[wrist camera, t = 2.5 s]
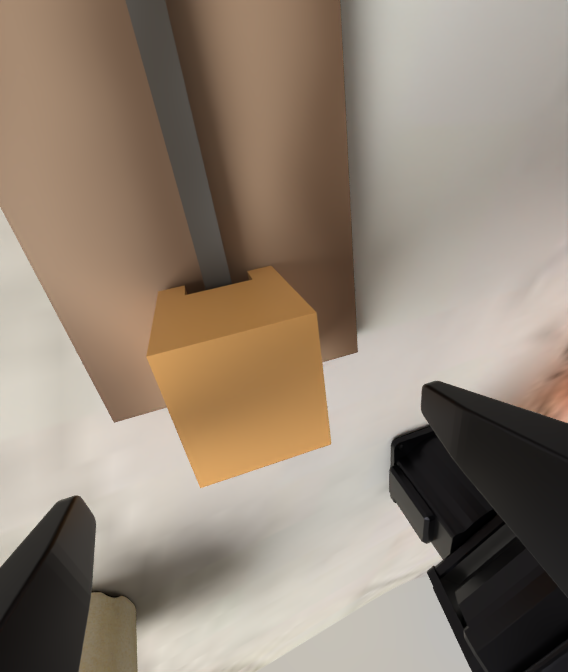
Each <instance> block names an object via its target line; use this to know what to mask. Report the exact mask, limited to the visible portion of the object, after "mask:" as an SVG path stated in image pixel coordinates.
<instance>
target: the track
mask: <svg viewBox="0 0 568 672" xmlns="http://www.w3.org/2000/svg"><path fill="white" fill-rule="evenodd" d="M0 207H1V209H2V211H3V213H4V215H5V217H6V218H7V220H8V222H9V224H10V226H11V228H12V230H13V232H14V234H15V236H16V237H17V239H18V241H19V243H20V245H21V247H22V249H23V251H24V253H25V254H26V256H27V258H28V260H29V262H30V264H31V266H32V268H33V270H34V272H35V273H36V275H37V277H38V279H39V281H40V283H41V285H42V287H43V289H44V291H45V292H46V294H47V296H48V298H49V300H50V302H51V304H52V306H53V308H54V310H55V311H56V313H57V315H58V317H59V319H60V321H61V323H62V325H63V327H64V328H65V330H66V332H67V334H68V336H69V338H70V340H71V342H72V344H73V346H74V347H75V349H76V351H77V353H78V355H79V357H80V359H81V361H82V363H83V365H84V366H85V368H86V370H87V372H88V374H89V376H90V378H91V380H92V382H93V384H94V385H95V387H96V389H97V391H98V393H99V395H100V397H101V399H102V401H103V402H104V404H105V406H106V408H107V410H108V412H109V414H110V416H111V418H112V420H113V421H114V422H118V421H121V420H125V419H128V418H132V417H135V416H139V415H142V414H146V413H149V412H152V411H156V410H159V409H163V408H166V407H167V406H166V403H165V401H164V399H163V396H162V394H161V391H160V389H159V387H158V384H157V382H156V379H155V377H154V374H153V372H152V370H151V367H150V365H149V362H148V360H147V357H146V355H147V350H148V345H149V339H150V334H151V328H152V323H153V317H154V312H155V307H156V301H157V296H158V291H162V290H167V289H171V288H175V287H180V286H184V285H185V288H186V292H187V295H188V294H193V293H197V292H201V291H205V290H210V289H214V288H218V287H223V286H227V285H231V284H235V283H240V282H244V281H248V280H249V278H248V273H247V271H250V270H254V269H258V268H263V267H267V266H272V267H273V268H274V269H275V270H276V271H277V272H278V273H279V274H280V275H281V276H282V277H283V278H284V279H285V280H286V281H287V282H288V284H289V285H290V286H291V287H292V288H293V289H294V290H295V291H296V292H297V293H298V294H299V295H300V296H301V297H302V298H303V299H304V300H305V301H306V302H307V303H308V304H309V305H310V306H311V307H312V308H313V309H314V310H315V311H316V312H317V321H318V330H319V339H320V348H321V357H322V362H325V361H329V360H332V359H336V358H339V357H343V356H346V355H349V354H353V353H356V352H358V348H357V328H356V307H355V287H354V267H353V247H352V227H351V207H350V187H349V166H348V146H347V126H346V106H345V86H344V66H343V46H342V26H341V5H340V0H0Z"/></svg>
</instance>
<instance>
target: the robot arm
mask: <svg viewBox="0 0 568 672" xmlns="http://www.w3.org/2000/svg"><path fill="white" fill-rule="evenodd" d="M421 411H422V413H423V415H424V417H425V419H426V420H427V422H428V423H429V424H430V426H431V427H428V428H425V429H422V430H419V431H417V432H414V433H411V434H408V435H405V436H402V437H399V438H397V439H395V440H394V441H393V442H392V443H391V467H390V470H389V492H390V494H391V495H390V496H391V498H392V500H393V502H395V503H397V504H398V506H399V507H400V509H401V510H402V512H403V513H404V515H405V517H406V518H407V520H408V521H409V523H410V524H411V526H412V527H413V529H414V530H415V532H416V533H417V535H418V536H419V538H420V539H421V541H422V542H424V543H426V544H427V543H430V542H431V543H432V544H433V546H434V547H435V549H436V550H437V552H438V553H439V555H440V556H441V557H442V559H443V561H441V562H440V563H439V564H438V565H437V566H436V567H435V566H433V567H432V568H430V569H429V570H428V571H427V574H428V576H429V578H430V580H431V582H432V585H433V589H434V591H435V593H436V596H437V598H438V600H439V602H440V604H441V606H442V608H443V611H444V613H445V615H446V617H447V619H448V621H449V623H450V626H451V628H452V630H453V632H454V634H455V636H456V639H457V641H458V643H459V645H460V647H461V649H462V651H463V653H464V656H465V658H466V660H467V662H468V664H469V666H470V668H471V670H472V672H568V423H565V422H562V421H559V420H556V419H553V418H550V417H547V416H544V415H541V414H538V413H535V412H532V411H529V410H526V409H523V408H520V407H517V406H513V405H510V404H507V403H504V402H501V401H498V400H495V399H492V398H489V397H486V396H483V395H480V394H477V393H474V392H471V391H468V390H465V389H462V388H459V387H456V386H453V385H450V384H447V383H443V382H440V381H433V382H430V383H427V384H425V385H423V387H422V396H421ZM95 533H96V521H95V518H94V515H93V514H92V512H91V511H90V509H89V508H88V506H87V505H86V503H85V502H84V501H83V499H82V498H81V497H80V496H78V495H77V496H72V497H69V498H66V499H62V500H60V501H58V502H57V503H56V504H55V505H54V506H53V507H52V508H51V510H50V511H49V512H48V513H47V514H46V515H45V516H44V518H43V519H42V520H41V521H40V522H39V523H38V524H37V526H36V527H35V528H34V529H33V530H32V531H31V533H30V534H29V535H28V536H27V537H26V538H25V539H24V541H23V542H22V543H21V544H20V545H19V546H18V548H17V549H16V550H15V551H14V552H13V553H12V554H11V556H10V557H9V558H8V559H7V560H6V561H5V562H4V564H3V565H2V566H1V567H0V672H79V667H80V661H81V655H82V649H83V643H84V637H85V631H86V625H87V619H88V614H89V607H90V600H91V592H92V579H93V564H94V548H95Z"/></svg>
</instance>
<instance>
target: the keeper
mask: <svg viewBox="0 0 568 672" xmlns="http://www.w3.org/2000/svg"><path fill="white" fill-rule="evenodd" d="M247 273H248V278H249V280H248V281H244V282H240V283H235V284H231V285H227V286H223V287H218V288H214V289H210V290H205V291H201V292H197V293H193V294H188V295H187V292H186V288H185V285H184V286H180V287H175V288H171V289H167V290H162V291H158V296H157V301H156V307H155V312H154V317H153V323H152V328H151V334H150V339H149V345H148V350H147V355H146V357H147V360H148V362H149V365H150V367H151V370H152V372H153V374H154V377H155V379H156V382H157V384H158V387H159V389H160V391H161V394H162V396H163V399H164V401H165V403H166V406H167V408H168V411H169V413H170V416H171V418H172V420H173V423H174V425H175V428H176V430H177V433H178V435H179V437H180V440H181V442H182V445H183V447H184V450H185V452H186V454H187V457H188V459H189V462H190V464H191V467H192V469H193V471H194V474H195V476H196V479H197V481H198V483H199V486H200V488H202V487H205V486H208V485H211V484H214V483H217V482H220V481H223V480H226V479H229V478H232V477H235V476H238V475H241V474H244V473H247V472H250V471H253V470H256V469H259V468H262V467H265V466H268V465H271V464H274V463H277V462H280V461H283V460H286V459H289V458H292V457H295V456H298V455H301V454H304V453H306V452H309V451H312V450H315V449H318V448H321V447H324V446H327V445H330V444H331V437H330V428H329V419H328V410H327V401H326V392H325V383H324V374H323V366H322V357H321V348H320V339H319V330H318V321H317V312H316V311H315V310H314V309H313V308H312V307H311V306H310V305H309V304H308V303H307V302H306V301H305V300H304V299H303V298H302V297H301V296H300V295H299V294H298V293H297V292H296V291H295V290H294V289H293V288H292V287H291V286H290V285H289V284H288V282H287V281H286V280H285V279H284V278H283V277H282V276H281V275H280V274H279V273H278V272H277V271H276V270H275V269H274V268H273V267H272V266H267V267H263V268H258V269H254V270H250V271H247Z"/></svg>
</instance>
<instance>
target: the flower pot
mask: <svg viewBox="0 0 568 672" xmlns="http://www.w3.org/2000/svg"><path fill="white" fill-rule="evenodd" d="M79 672H138V671H137V635H136V609H135V606H134V604H133V603H132V602H131V601H130V600H129V599H128V598H126V597H124V596H120V597H117V598H112V597H109V596H106V595H105V594H103V593H101V592H95V593H91V600H90V607H89V614H88V619H87V625H86V631H85V637H84V643H83V649H82V655H81V661H80V667H79Z"/></svg>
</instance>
